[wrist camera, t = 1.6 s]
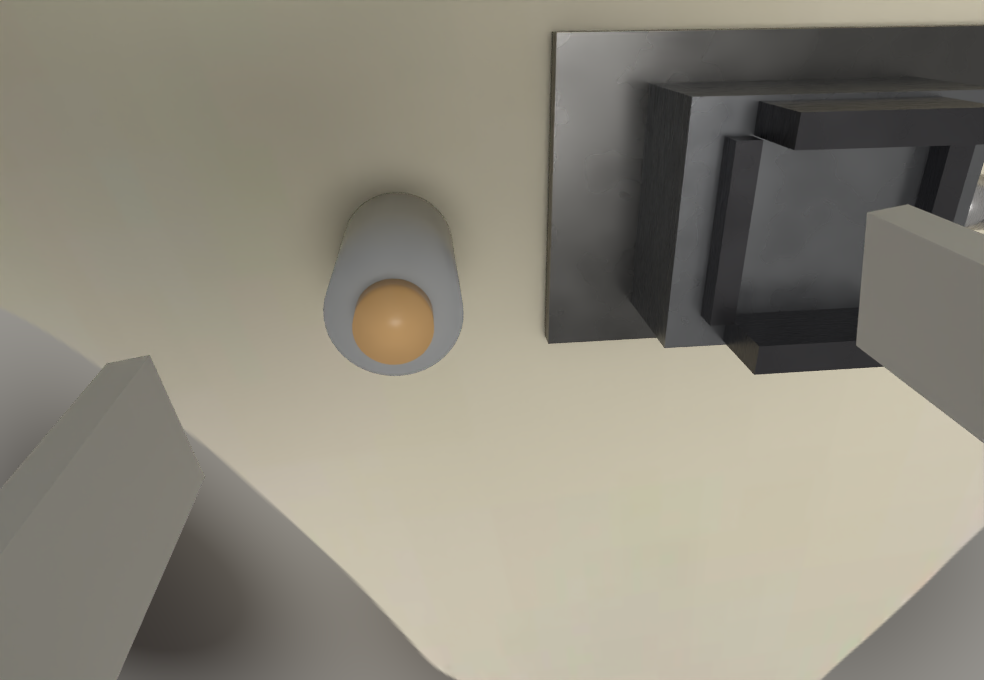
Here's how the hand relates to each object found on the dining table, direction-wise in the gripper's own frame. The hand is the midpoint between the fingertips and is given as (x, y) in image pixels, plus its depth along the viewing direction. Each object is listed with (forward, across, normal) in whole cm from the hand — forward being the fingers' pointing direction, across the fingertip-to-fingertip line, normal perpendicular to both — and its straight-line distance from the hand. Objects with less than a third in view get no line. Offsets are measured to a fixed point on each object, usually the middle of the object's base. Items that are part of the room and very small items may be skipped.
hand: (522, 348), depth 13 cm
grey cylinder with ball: (+20, -4, -4) cm, 20 cm away
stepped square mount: (+20, +14, -4) cm, 24 cm away
